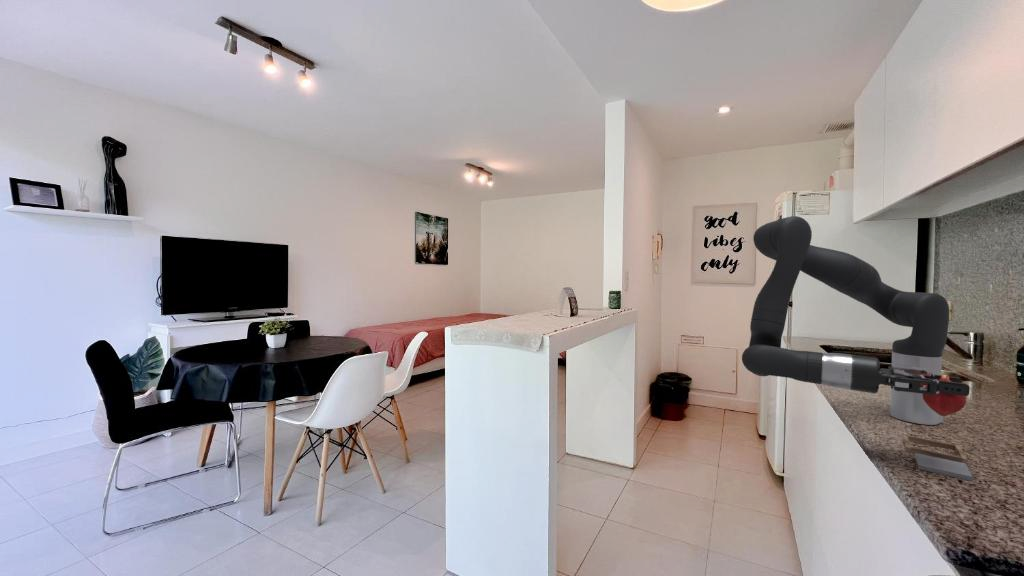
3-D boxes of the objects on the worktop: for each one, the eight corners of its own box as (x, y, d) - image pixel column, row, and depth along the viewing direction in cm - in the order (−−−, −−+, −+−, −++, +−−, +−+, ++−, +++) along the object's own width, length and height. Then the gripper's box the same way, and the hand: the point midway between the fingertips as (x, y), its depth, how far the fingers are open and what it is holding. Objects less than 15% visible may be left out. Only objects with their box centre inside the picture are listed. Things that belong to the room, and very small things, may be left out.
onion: (970, 423, 75) (973, 381, 74) (927, 417, 78) (929, 376, 78) (957, 414, 80) (960, 374, 79) (917, 408, 83) (919, 370, 82)
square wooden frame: (902, 439, 93) (902, 434, 93) (959, 449, 88) (959, 445, 87) (906, 451, 87) (906, 446, 87) (967, 464, 81) (967, 459, 81)
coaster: (914, 456, 84) (915, 453, 84) (965, 467, 79) (965, 463, 79) (918, 469, 79) (918, 464, 79) (972, 481, 74) (972, 476, 74)
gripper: (850, 360, 82) (976, 374, 71) (848, 350, 93) (957, 361, 82) (848, 396, 82) (974, 416, 71) (847, 382, 93) (955, 397, 83)
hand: (964, 386), depth 77 cm, fingers closed on onion, 5 cm apart
